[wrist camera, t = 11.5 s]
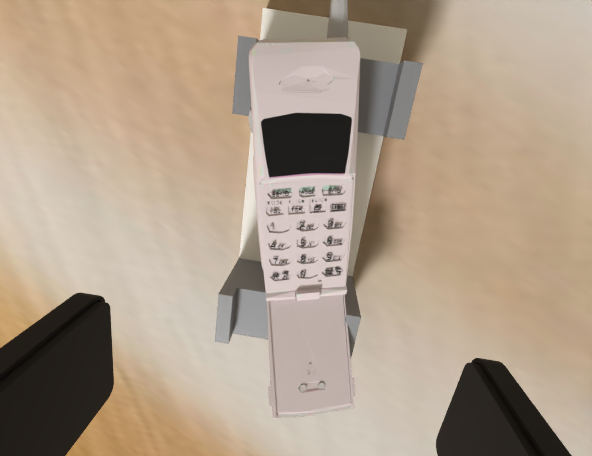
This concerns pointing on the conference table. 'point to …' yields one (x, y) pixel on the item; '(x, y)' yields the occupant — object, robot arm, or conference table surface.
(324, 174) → the mobile phone
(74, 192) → the conference table surface
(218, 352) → the conference table surface
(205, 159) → the conference table surface
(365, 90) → the cradle stand
